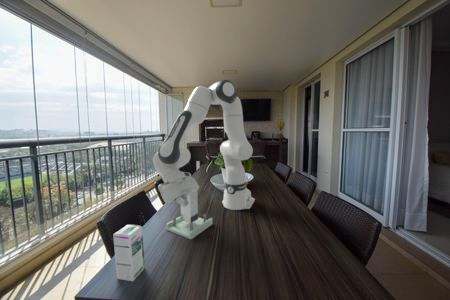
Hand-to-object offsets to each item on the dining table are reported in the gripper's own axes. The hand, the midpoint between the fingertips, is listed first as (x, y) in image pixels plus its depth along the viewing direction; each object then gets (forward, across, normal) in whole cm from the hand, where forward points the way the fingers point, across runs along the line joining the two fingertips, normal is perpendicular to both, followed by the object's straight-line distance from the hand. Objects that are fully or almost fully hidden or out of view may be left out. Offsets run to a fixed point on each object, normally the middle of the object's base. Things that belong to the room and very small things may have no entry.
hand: (190, 203), depth 85 cm
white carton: (+5, 0, +6) cm, 8 cm away
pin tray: (+8, 0, +8) cm, 11 cm away
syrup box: (+11, -31, +6) cm, 33 cm away
